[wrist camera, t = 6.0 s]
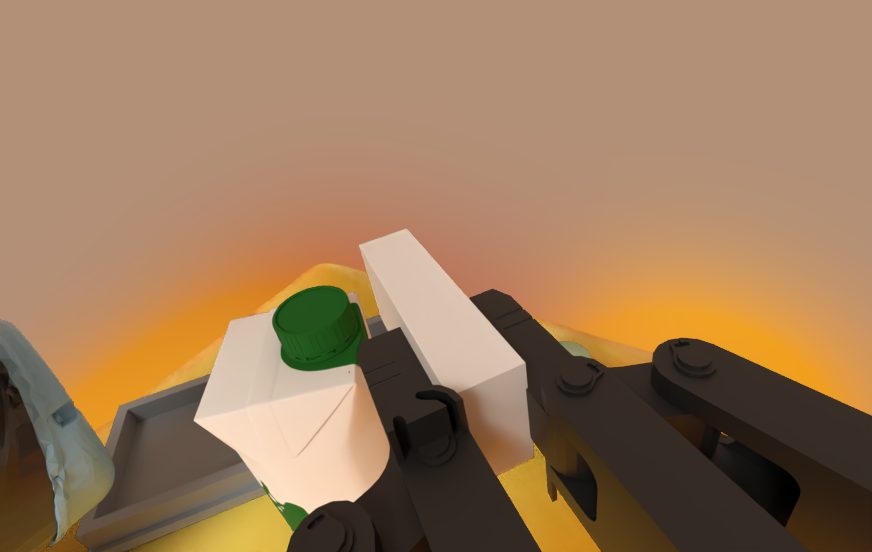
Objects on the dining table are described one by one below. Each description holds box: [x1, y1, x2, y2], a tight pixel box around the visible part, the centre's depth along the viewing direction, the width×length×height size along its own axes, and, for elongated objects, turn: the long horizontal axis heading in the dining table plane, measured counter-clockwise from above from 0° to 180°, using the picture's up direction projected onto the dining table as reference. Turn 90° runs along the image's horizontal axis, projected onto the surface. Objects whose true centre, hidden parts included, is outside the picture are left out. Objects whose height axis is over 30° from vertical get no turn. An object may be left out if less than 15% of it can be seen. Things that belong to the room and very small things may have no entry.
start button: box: [559, 341, 591, 358], centre depth 35 cm, size 4×4×2 cm
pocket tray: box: [75, 315, 388, 552], centre depth 42 cm, size 30×14×3 cm, turn 109°
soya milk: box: [194, 286, 390, 532], centre depth 28 cm, size 9×9×20 cm
